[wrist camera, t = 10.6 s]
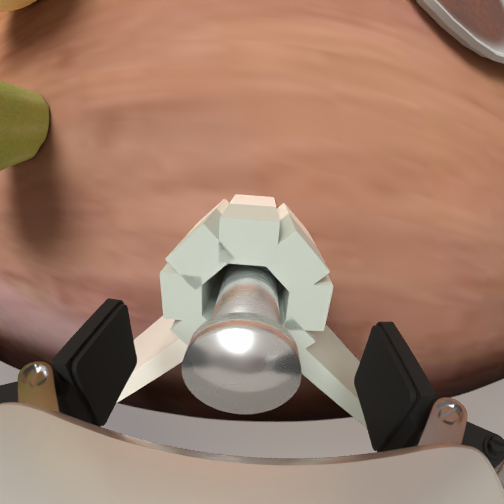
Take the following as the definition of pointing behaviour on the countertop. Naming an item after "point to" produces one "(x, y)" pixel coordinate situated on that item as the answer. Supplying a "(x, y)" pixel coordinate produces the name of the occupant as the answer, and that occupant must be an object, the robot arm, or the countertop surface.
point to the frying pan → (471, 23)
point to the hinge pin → (243, 347)
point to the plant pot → (21, 124)
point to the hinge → (288, 289)
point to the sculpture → (14, 4)
